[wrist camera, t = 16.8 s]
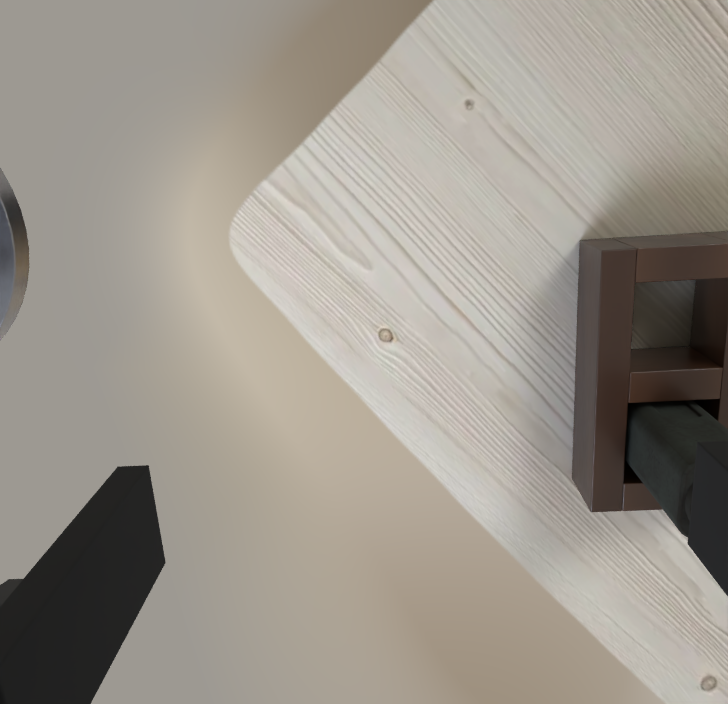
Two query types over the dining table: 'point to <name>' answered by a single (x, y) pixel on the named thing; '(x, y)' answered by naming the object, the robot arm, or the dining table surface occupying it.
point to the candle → (669, 451)
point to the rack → (641, 353)
